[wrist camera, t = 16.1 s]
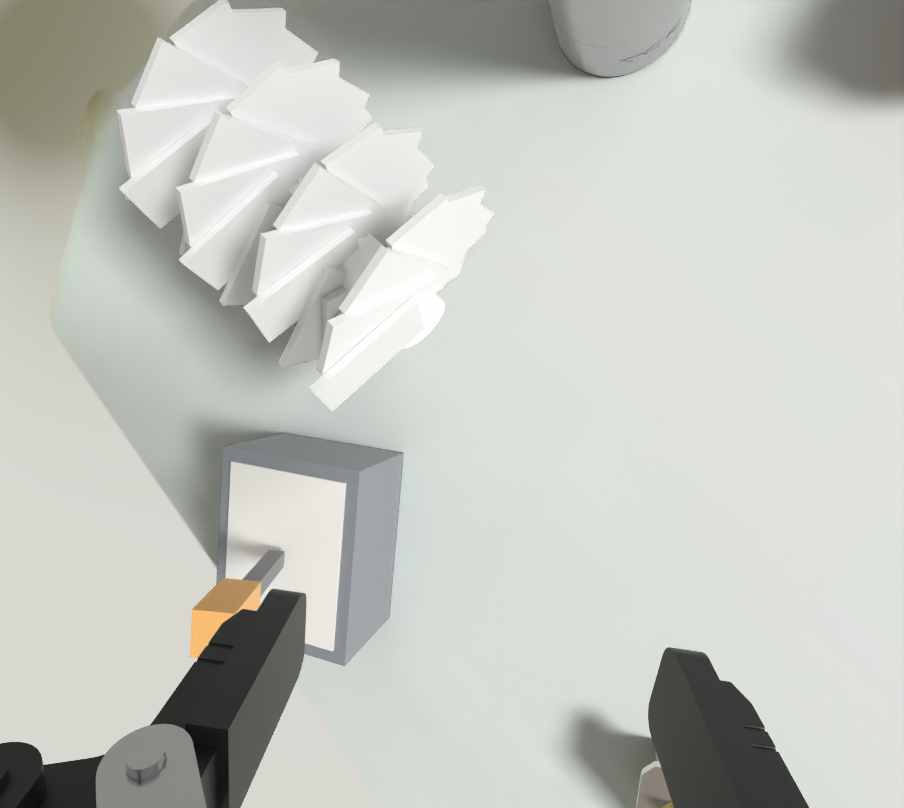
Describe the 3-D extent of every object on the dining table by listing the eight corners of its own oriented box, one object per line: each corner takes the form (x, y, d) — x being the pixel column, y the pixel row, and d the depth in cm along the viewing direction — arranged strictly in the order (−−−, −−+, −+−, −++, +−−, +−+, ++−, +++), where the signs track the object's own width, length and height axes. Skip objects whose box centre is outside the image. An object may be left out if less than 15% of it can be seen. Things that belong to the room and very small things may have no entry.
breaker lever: (293, 541, 41) (235, 613, 30) (290, 577, 41) (232, 660, 30) (261, 538, 41) (192, 609, 30) (259, 574, 41) (190, 656, 30)
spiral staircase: (320, 125, 51) (512, 296, 45) (168, 244, 48) (354, 443, 42) (238, -105, 33) (537, 131, 28) (-10, 62, 30) (267, 362, 25)
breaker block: (403, 452, 46) (358, 472, 39) (389, 617, 48) (343, 667, 40) (284, 432, 50) (221, 446, 42) (275, 586, 52) (212, 627, 44)
